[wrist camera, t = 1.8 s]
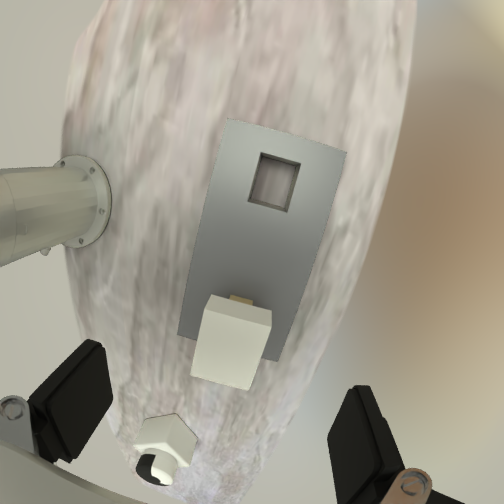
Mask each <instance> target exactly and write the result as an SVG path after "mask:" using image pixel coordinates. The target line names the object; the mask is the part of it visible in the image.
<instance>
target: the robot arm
mask: <svg viewBox="0 0 504 504" xmlns="http://www.w3.org/2000/svg"><path fill="white" fill-rule="evenodd" d="M104 210H105V212H104ZM110 210H111V193H110V187H109V184H108V180H107V178H106V176H105V174H104V172H103V170H102V169H101V168H100V166H99V165H98V164H97V163H96V162H95V161H93V160H92V159H90V158H88V157H85V156H80V155H71V156H67V157H64V158H62V159H61V160H59V161H58V162H57V163H56V164H55V165H54V166H53V167H30V168H8V169H0V267H2V266H4V265H7V264H9V263H11V262H14V261H16V260H18V259H21V258H23V257H25V256H28V255H31V254H33V253H36V252H38V251H40V252H41V254H42V255H45V256H47V255H48V253H49V251H50V249H51V247H53V246H56V245H58V244H63V245H65V246H67V247H71V248H80V247H84V246H86V245H89V244H90V243H92V242H94V241H95V240H96V239H97V238H98V237H99V236H100V235H101V234H102V232H103V231H104V229H105V227H106V225H107V222H108V219H109V216H110ZM112 401H113V393H112V388H111V383H110V377H109V371H108V365H107V358H106V351H105V348H104V347H102V344H101V343H100V342H97V341H93V340H90V339H86V340H85V341H84V342H83V343H82V344H81V345H80V346H79V347H78V348H77V349H76V350H75V351H74V352H73V353H72V354H71V355H70V356H69V357H68V358H67V359H66V360H65V361H64V362H63V363H62V364H61V365H60V366H59V367H58V368H57V369H56V370H55V371H54V372H53V373H52V374H51V375H50V376H49V377H48V378H47V379H46V380H45V381H44V382H43V383H42V384H41V385H40V386H39V387H38V388H37V389H36V390H35V391H34V393H32V395H31V396H30V397H29V399H28V401H26V400H25V399H23V398H22V397H19V396H15V395H11V396H7V397H4V398H2V399H1V400H0V504H147V503H143V502H140V501H138V500H134V499H132V498H129V497H126V496H123V495H120V494H117V493H115V492H112V491H109V490H107V489H104V488H102V487H100V486H97V485H95V484H93V483H90V482H88V481H86V480H84V479H82V478H80V477H78V476H76V475H73V474H71V473H69V472H67V471H65V470H63V469H61V468H59V467H57V464H56V462H57V460H58V459H59V458H60V459H62V460H64V461H66V462H68V463H70V462H71V461H72V460H73V459H76V458H77V457H78V456H79V454H80V453H81V451H82V450H83V448H84V446H85V444H86V443H87V442H88V440H89V438H90V437H91V435H92V434H93V432H94V430H95V429H96V427H97V426H98V424H99V423H100V421H101V419H102V418H103V416H104V415H105V413H106V412H107V410H108V409H109V407H110V406H111V404H112ZM327 441H328V447H329V454H330V460H331V466H332V472H333V478H334V485H335V491H336V498H337V504H465V503H462V502H460V501H457V500H455V499H453V498H450V497H448V496H445V495H443V494H441V493H439V492H437V491H434V490H432V480H431V478H430V476H429V475H428V474H427V473H426V472H424V471H422V470H421V469H417V468H408V469H405V466H404V464H403V461H402V458H401V456H400V453H399V451H398V448H397V445H396V443H395V440H394V438H393V435H392V433H391V430H390V428H389V425H388V423H387V421H386V419H385V418H384V417H382V414H381V412H380V409H379V407H378V404H377V402H376V399H375V397H374V395H373V392H372V390H371V388H370V386H367V385H366V386H365V385H355V386H354V387H353V388H352V389H349V390H348V392H347V394H346V396H345V399H344V401H343V403H342V405H341V408H340V410H339V412H338V414H337V416H336V418H335V421H334V423H333V425H332V427H331V429H330V432H329V433H328V437H327Z"/></svg>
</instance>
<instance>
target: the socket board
mask: <svg viewBox="0 0 504 504" xmlns="http://www.w3.org/2000/svg"><path fill="white" fill-rule="evenodd" d="M346 153H347V152H345V151H343V150H340V149H337V148H334V147H331V146H328V145H325V144H322V143H319V142H316V141H312V140H309V139H306V138H303V137H299V136H296V135H292V134H289V133H285V132H282V131H278V130H274V129H271V128H267V127H263V126H259V125H255V124H251V123H247V122H242V121H238V120H234V119H229V118H227V121H226V125H225V128H224V132H223V135H222V139H221V143H220V146H219V150H218V153H217V157H216V161H215V165H214V168H213V172H212V176H211V180H210V184H209V188H208V192H207V196H206V200H205V204H204V208H203V212H202V216H201V220H200V225H199V229H198V233H197V238H196V242H195V247H194V251H193V256H192V261H191V265H190V270H189V275H188V280H187V285H186V290H185V295H184V300H183V305H182V311H181V316H180V321H179V327H178V333H177V335H180V336H183V337H186V338H190V339H193V340H196V341H197V339H198V335H199V330H200V326H201V321H202V317H203V312H204V308H205V306H206V304H207V302H208V300H209V298H210V296H211V294H212V295H216V296H219V297H223V298H226V299H229V298H230V295H234V296H238V297H241V298H245V299H249V300H252V301H253V304H252V306H256V307H259V308H263V309H267V310H271V311H272V328H271V331H270V334H269V336H268V339H267V342H266V345H265V348H264V350H263V353H262V356H261V358H263V359H267V360H272V361H276V362H278V360H279V357H280V354H281V352H282V349H283V347H284V344H285V342H286V339H287V336H288V334H289V331H290V328H291V326H292V323H293V320H294V318H295V315H296V312H297V310H298V307H299V304H300V301H301V298H302V296H303V293H304V290H305V287H306V284H307V281H308V278H309V275H310V273H311V270H312V267H313V264H314V261H315V258H316V255H317V252H318V248H319V245H320V242H321V239H322V236H323V233H324V230H325V226H326V223H327V220H328V217H329V213H330V210H331V207H332V203H333V200H334V197H335V193H336V190H337V186H338V183H339V179H340V176H341V172H342V168H343V165H344V161H345V157H346ZM262 156H263V157H267V158H271V159H274V160H278V161H282V162H285V163H289V164H292V165H295V166H296V170H295V173H294V177H293V180H292V184H291V187H290V191H289V194H288V198H287V201H286V205H285V208H283V207H279V206H276V205H272V204H269V203H265V202H262V201H258V200H254V199H251V195H252V191H253V187H254V184H255V180H256V176H257V173H258V169H259V165H260V162H261V158H262Z"/></svg>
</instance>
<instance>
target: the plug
mask: <svg viewBox="0 0 504 504" xmlns="http://www.w3.org/2000/svg"><path fill="white" fill-rule="evenodd" d="M252 304H253V301H252V300H249V299H245V298H241V297H238V296H234V295H230V298H229V299H226V298H223V297H219V296H216V295H212V294H211V296H210V298H209V300H208V302H207V304H206V306H205V308H204V312H203V317H202V321H201V326H200V330H199V335H198V339H197V344H196V349H195V353H194V358H193V363H192V368H191V373H190V375H191V376H195V377H198V378H201V379H205V380H208V381H212V382H216V383H219V384H223V385H227V386H231V387H235V388H239V389H243V390H247V391H249V389H250V386H251V383H252V381H253V378H254V375H255V373H256V370H257V367H258V364H259V362H260V359H261V356H262V353H263V350H264V348H265V345H266V342H267V339H268V336H269V334H270V331H271V328H272V311H271V310H267V309H263V308H259V307H256V306H252Z"/></svg>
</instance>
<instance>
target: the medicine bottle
mask: <svg viewBox="0 0 504 504" xmlns="http://www.w3.org/2000/svg"><path fill="white" fill-rule="evenodd" d="M196 442H197V437H196V436H195V435H194V434H193V433H192V431H191V430H190V429H189V428H188V427H187V426H186V425H185V423H184V422H183V421H182V420H181V419H180V418H179V416H178V415H177V414H171V415H166V416H160V417H155V418H148V419H145V421H144V423H143V425H142V428H141V430H140V432H139V434H138V436H137V438H136V440H135V442H134V444H133V446H134V447H135V448H136V449H137V450H138V451H139V452H140V453H141V454H142V455H141V457H140V459H139V461H138V464H137V466H136V472H137V474H138V475H139V476H140V477H141V478H143V479H144V480H146V481H147V482H149V483H152V484H155V485H160V486H168V485H170V484H172V483H173V480H174V477H175V474H176V470H177V468H182V467H190V464H191V460H192V457H193V453H194V449H195V446H196Z"/></svg>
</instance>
